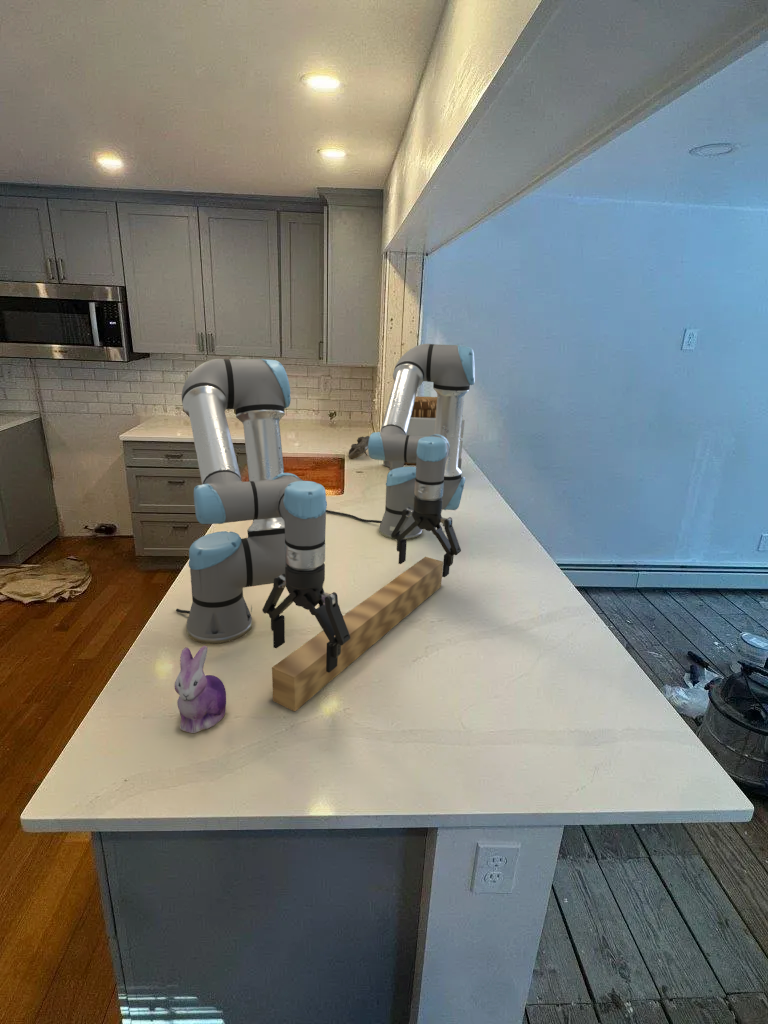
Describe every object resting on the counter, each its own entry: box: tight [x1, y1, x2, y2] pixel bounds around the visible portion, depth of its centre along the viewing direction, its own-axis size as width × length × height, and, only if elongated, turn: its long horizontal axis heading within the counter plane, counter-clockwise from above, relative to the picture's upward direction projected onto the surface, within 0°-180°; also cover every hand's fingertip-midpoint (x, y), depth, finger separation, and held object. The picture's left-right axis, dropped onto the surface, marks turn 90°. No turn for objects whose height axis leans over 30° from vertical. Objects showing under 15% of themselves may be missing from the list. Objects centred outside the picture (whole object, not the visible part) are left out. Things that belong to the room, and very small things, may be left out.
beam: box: [271, 556, 444, 713], centre depth 137 cm, size 65×6×8 cm, turn 149°
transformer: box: [383, 395, 465, 472], centre depth 268 cm, size 34×33×41 cm
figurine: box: [174, 645, 227, 734], centre depth 105 cm, size 9×10×15 cm
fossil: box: [347, 435, 370, 460], centre depth 301 cm, size 22×10×15 cm
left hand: (304, 656), depth 115 cm, fingers open, 13 cm apart
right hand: (423, 568), depth 157 cm, fingers open, 13 cm apart
